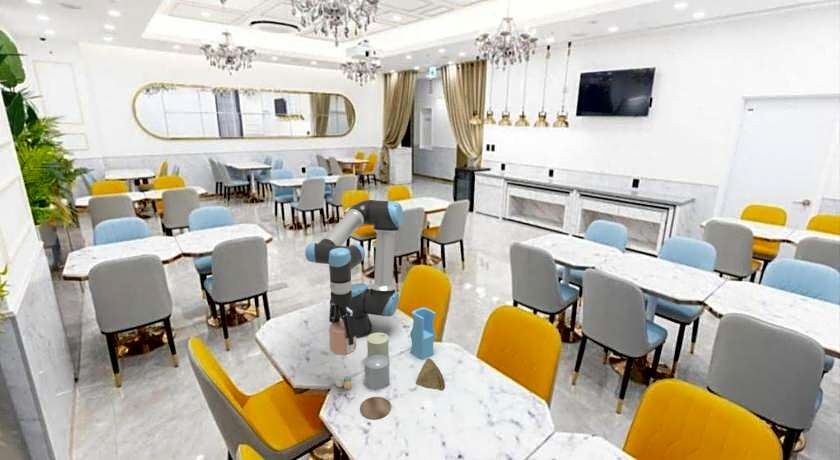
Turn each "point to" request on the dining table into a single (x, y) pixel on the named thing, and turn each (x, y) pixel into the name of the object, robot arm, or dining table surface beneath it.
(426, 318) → the blue notched block
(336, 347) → the cup terracotta
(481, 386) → the dining table surface
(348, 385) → the marble amber
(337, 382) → the marble white
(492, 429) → the dining table surface
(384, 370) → the cup grey
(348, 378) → the marble teal
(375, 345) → the can
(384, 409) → the coaster
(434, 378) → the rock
